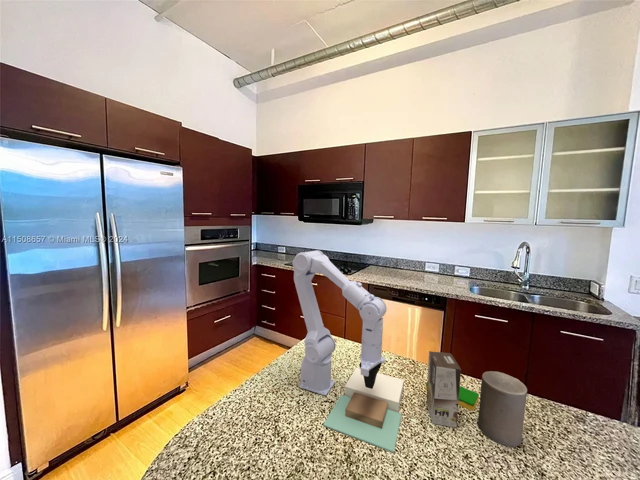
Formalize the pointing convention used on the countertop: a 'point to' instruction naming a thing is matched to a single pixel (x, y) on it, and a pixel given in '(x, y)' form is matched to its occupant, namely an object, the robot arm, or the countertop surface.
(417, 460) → the countertop surface
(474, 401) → the dish sponge
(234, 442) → the countertop surface
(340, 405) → the sage mat
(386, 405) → the walnut coaster
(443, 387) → the coffee box
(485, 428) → the pillar candle
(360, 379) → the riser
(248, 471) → the countertop surface
